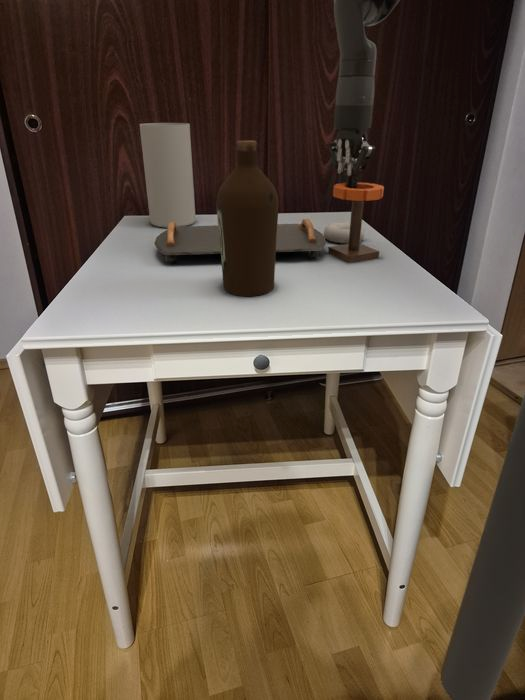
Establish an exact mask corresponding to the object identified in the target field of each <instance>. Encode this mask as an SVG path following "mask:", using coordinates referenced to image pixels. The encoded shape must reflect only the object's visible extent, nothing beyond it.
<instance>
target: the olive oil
mask: <svg viewBox="0 0 525 700" xmlns="http://www.w3.org/2000/svg"><path fill="white" fill-rule="evenodd" d="M257 144H258V143H257V140H252V139H251V140H249V139H248V140H246V139H244V140H237V141H236V146H237V150H236V166H235V168H234V169H233V170H232V172H231V173H230V174H229V175H228V177H226V179H225V180H224V181H223V183H221V185H220V186H219V189H218V193H217V196H216V197H217V198H216V205H215V206H216V216H217V226H218V228H219V238H220V250H221V254H220V258H221V271H222V286H223V290H224V291H225V292H226V293H229V294H231V295H234V296H240V297H257V296H262V295H266V294H269V293H270V292H272V291H273V290H274V288H275V274H276V273H275V271H276V253H277V252H276V238H277V224H279V222H278V221H279V207H280V206H279V204H280V201H279V197H278V196H279V195H278V193H277V188H276V187H275V186H274V184H273V183H272V182H271V181H270V179H269V178H268V177H267V176H266V174H265V173H264V172H263V171H262V170H261V168H259V166H258V149H257Z"/></svg>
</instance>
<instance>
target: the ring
mask: <svg viewBox="0 0 525 700" xmlns="http://www.w3.org/2000/svg"><path fill="white" fill-rule="evenodd" d="M346 184H347V183H339V182H338V183H336V184H334V185H333V186H332V187H333V188H332V189H333V191H332V196H333V198H336V199H340V200H346V201H352V200H355V201H363V200H364V202H365V201H366V202H369V201H378V200H382V199H383V197H384V190H385V186H384V185H381V184H377V183H370V182H357V189H354V188H347V187H346Z"/></svg>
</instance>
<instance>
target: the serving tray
mask: <svg viewBox="0 0 525 700" xmlns="http://www.w3.org/2000/svg"><path fill="white" fill-rule="evenodd" d="M326 244H327V241H326V238H325V236H324V233H322V232H321V231H319V230H317V229H316V228H315V227H314V225H313V222H312V221H311V220H310V219H308V218H303V219H302V220H301V223H277V238H276V253H294V252H295V253H297V252H300V253H301V252H308V253H309V254H308V255H309V258H310V260H313V261H314V260H316V261H317V260H318V258H319V256H320V251H322V250H324V248H325V246H326ZM154 246H155V248H156V250H158V251H159V252H160V253H161V254H162V255H165V262H167V264H169V265H173V264H175V262H176V256H187V255H189V256H192V255H193V256H194V255H219V254H220V255H221V250H220V238H219V228H218V225H215V224H214V225H188V226H179V227H176V223H175V222H170V223H169V225H168V228H167V229H166V230H164V231H162V232H160V233H159V234H158V236H156V238H155V241H154Z"/></svg>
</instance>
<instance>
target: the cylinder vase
mask: <svg viewBox="0 0 525 700" xmlns="http://www.w3.org/2000/svg"><path fill="white" fill-rule="evenodd" d="M139 131H140V141H141V150H142V156H143V157H142V158H143V167H144V168H143V169H144V178H145V188H146V197H147V206H148V215H149V222H150V224H151V225H153V226H154V227H157V228H158V227H159V228H165V229H168V225H169V223H170V222H175V223H176V227H179V226H192V225H193V224H195V222H196V205H195V189H194V188H195V187H194V174H193V173H194V172H193V158H192V140H191V125H190V123H187V122H186V123H185V122H151V123H148V122H147V123H146V122H145V123H139Z"/></svg>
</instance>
